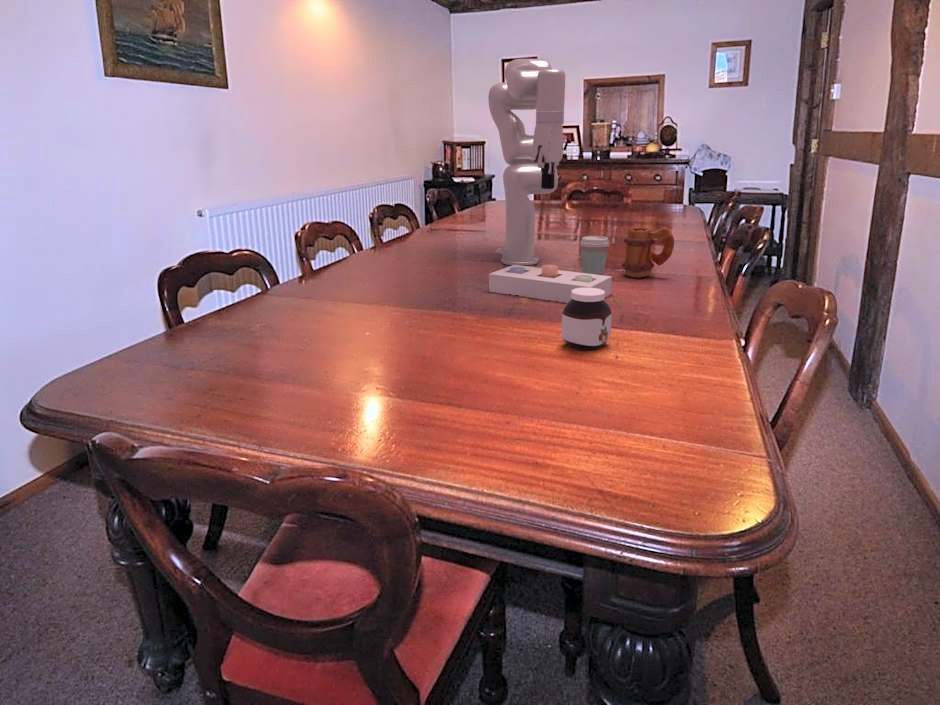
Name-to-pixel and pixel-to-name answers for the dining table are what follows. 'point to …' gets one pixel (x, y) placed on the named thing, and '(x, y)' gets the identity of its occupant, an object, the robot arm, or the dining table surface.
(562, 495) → the dining table surface
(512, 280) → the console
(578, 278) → the sage button
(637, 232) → the mug
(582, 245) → the coffee cup
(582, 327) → the spread jar
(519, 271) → the slate button
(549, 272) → the orange rounded piece
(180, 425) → the dining table surface
